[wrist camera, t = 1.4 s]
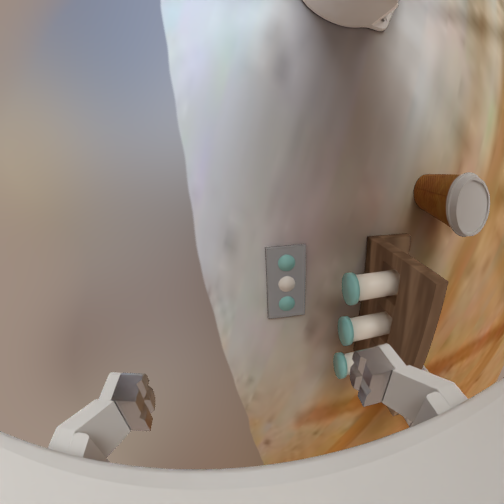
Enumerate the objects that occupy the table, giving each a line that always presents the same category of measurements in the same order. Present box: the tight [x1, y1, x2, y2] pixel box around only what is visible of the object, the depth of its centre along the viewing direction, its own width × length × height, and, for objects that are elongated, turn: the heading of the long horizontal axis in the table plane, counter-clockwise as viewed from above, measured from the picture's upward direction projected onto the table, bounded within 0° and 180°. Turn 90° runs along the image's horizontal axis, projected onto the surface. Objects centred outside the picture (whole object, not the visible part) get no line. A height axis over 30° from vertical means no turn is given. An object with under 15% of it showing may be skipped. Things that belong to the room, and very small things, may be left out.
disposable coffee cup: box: [414, 172, 490, 237], centre depth 36 cm, size 10×10×12 cm
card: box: [265, 244, 306, 319], centre depth 44 cm, size 6×12×1 cm, turn 3°
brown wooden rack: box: [354, 234, 448, 416], centre depth 39 cm, size 8×23×18 cm, turn 3°
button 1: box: [342, 270, 400, 305], centre depth 37 cm, size 8×4×4 cm, turn 93°
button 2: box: [333, 352, 354, 379], centre depth 42 cm, size 8×4×4 cm, turn 93°
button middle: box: [338, 311, 392, 346], centre depth 39 cm, size 8×4×4 cm, turn 93°
